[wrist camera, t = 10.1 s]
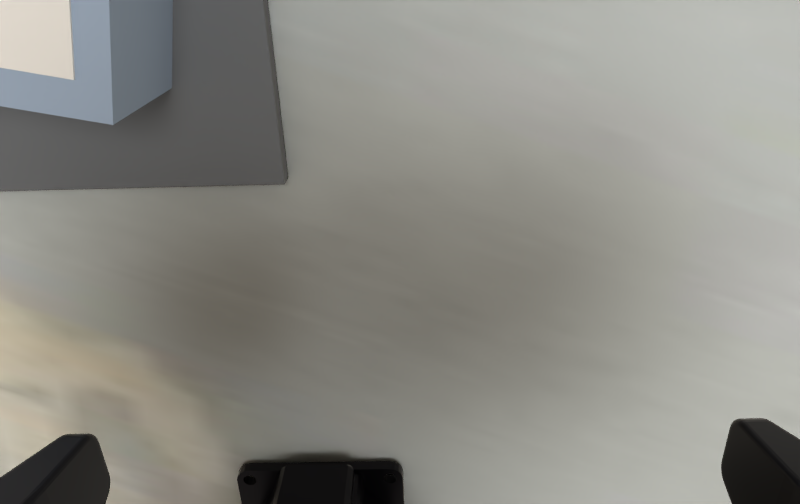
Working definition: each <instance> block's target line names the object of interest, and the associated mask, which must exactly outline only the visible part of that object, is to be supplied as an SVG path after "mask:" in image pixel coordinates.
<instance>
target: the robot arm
mask: <svg viewBox="0 0 800 504" xmlns="http://www.w3.org/2000/svg"><path fill="white" fill-rule="evenodd" d="M721 471H722V477H723V481H724V484H725V486H726V489H727V492H728V494H729V497H730V500H731V503H732V504H800V439H798V438H797V437H795V436H794V435H792V434H790V433H789V432H787V431H785V430H784V429H782V428H781V427H779V426H777V425H776V424H774V423H773V422H771V421H769V420H767V419H763V418H748V419H737V420H735V421H733V423H732V424H731V427H730V430H729V434H728V438H727V442H726V446H725V450H724V454H723V458H722V464H721ZM386 474H394V475H391V476H390V475H386ZM249 475H250V476H253V477H249ZM237 481H238V486H239V491H240V496H241V501H242V504H404V486H403V469H402V467H401V466H400V465H399V464H398V463H396V462H391V461H376V462H301V463H249V464H245V465H243V466H242V467H241V469H240V471H239V474H238V479H237ZM109 489H110V476H109V472H108V469H107V466H106V463H105V460H104V457H103V454H102V451H101V448H100V445H99V442H98V440H97V438H96V437H95V436H94V435H92V434H67V435H63V436H61V437H59V438H58V439H56V440H55V441H53V442H52V443H50V444H49V445H47V446H46V447H44V448H43V449H42V450H40V451H39V452H37V453H36V454H34V455H33V456H31V457H30V458H28V459H27V460H25V461H24V462H22V463H21V464H19V465H18V466H16V467H15V468H14V469H12V470H11V471H9V472H8V473H6V474H5V475H3V476H2V477H0V504H105V503H106V500H107V497H108V494H109Z"/></svg>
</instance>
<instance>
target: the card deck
mask: <svg viewBox="0 0 800 504" xmlns="http://www.w3.org/2000/svg"><path fill="white" fill-rule="evenodd" d="M172 32H173V0H0V106H2V107H8V108H14V109H20V110H26V111H32V112H38V113H44V114H50V115H56V116H62V117H68V118H74V119H80V120H86V121H92V122H98V123H104V124H110V125H114V124H115V123H117V122H119V121H120V120H122V119H123V118H125V117H127V116H128V115H130V114H131V113H133V112H135V111H136V110H138V109H139V108H141V107H143V106H144V105H146V104H147V103H149V102H150V101H152V100H154V99H155V98H157V97H158V96H160V95H162V94H163V93H165V92H166V91H168V90H170V89H171V88H172Z"/></svg>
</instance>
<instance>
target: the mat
mask: <svg viewBox="0 0 800 504" xmlns="http://www.w3.org/2000/svg"><path fill="white" fill-rule="evenodd" d="M287 179H288V172H287V164H286V155H285V147H284V138H283V129H282V121H281V112H280V103H279V95H278V86H277V77H276V69H275V60H274V52H273V43H272V34H271V26H270V17H269V8H268V0H173V32H172V88H171V89H170V90H168V91H166V92H165V93H163V94H162V95H160V96H158V97H157V98H155V99H154V100H152V101H150V102H149V103H147V104H146V105H144V106H143V107H141V108H139V109H138V110H136V111H135V112H133V113H131V114H130V115H128V116H127V117H125V118H123V119H122V120H120V121H119V122H117V123H115V124H114V125H110V124H104V123H98V122H92V121H86V120H80V119H74V118H68V117H62V116H56V115H50V114H44V113H38V112H32V111H26V110H20V109H14V108H8V107H2V106H0V191H28V190H69V189H109V188H149V187H189V186H230V185H270V184H285V183H286V181H287Z"/></svg>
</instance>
